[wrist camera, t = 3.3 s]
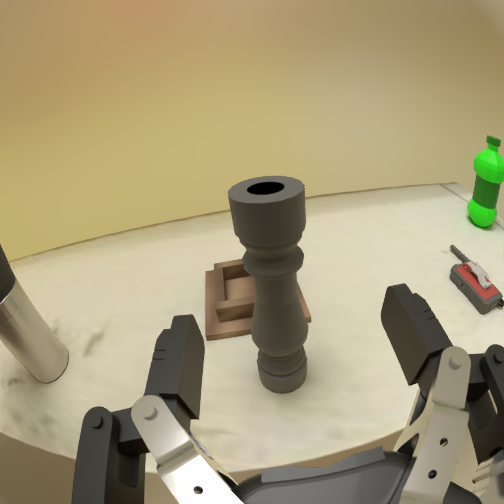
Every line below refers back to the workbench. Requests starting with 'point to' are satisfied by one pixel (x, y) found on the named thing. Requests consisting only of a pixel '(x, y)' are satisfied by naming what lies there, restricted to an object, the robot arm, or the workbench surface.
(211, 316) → the walnut socket base
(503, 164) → the plastic bottle
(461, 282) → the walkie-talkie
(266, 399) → the workbench surface
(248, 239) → the candle holder
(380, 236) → the workbench surface
